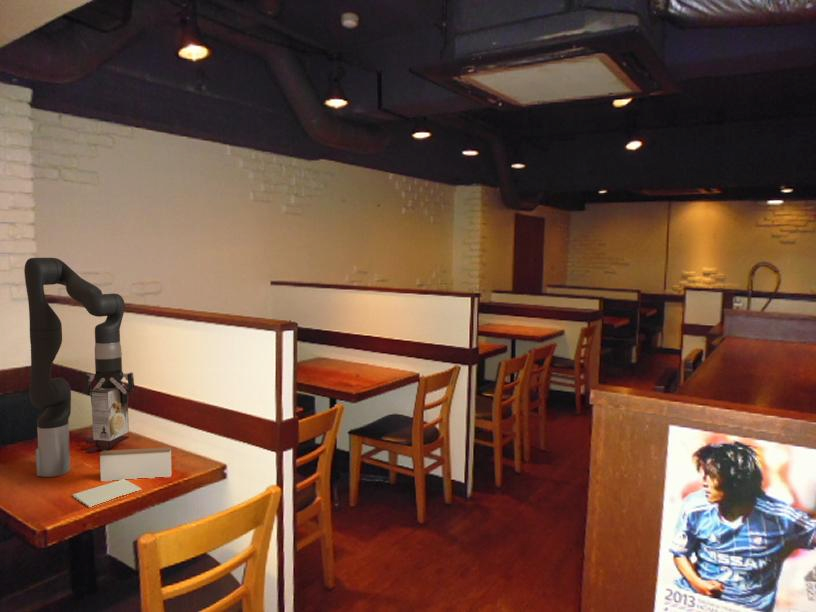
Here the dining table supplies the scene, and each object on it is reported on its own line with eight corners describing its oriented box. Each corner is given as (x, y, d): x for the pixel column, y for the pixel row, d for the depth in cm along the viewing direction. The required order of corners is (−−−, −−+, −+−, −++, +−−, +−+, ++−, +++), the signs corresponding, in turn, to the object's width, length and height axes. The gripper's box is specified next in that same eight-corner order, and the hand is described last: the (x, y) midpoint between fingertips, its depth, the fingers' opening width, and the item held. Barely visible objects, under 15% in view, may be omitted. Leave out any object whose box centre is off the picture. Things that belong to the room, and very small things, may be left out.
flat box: (100, 482, 186) (99, 453, 186) (103, 479, 189) (101, 450, 188) (170, 477, 191) (169, 449, 190) (171, 474, 194) (170, 446, 193)
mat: (89, 508, 168) (88, 505, 168) (72, 496, 175) (72, 494, 175) (141, 490, 180) (141, 488, 180) (124, 481, 188) (124, 478, 187)
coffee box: (112, 430, 184) (110, 383, 183) (129, 432, 183) (127, 384, 181) (92, 440, 175) (90, 390, 174) (110, 441, 174) (108, 391, 172)
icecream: (126, 427, 224) (84, 437, 216) (128, 428, 217) (84, 437, 209) (129, 444, 223) (87, 454, 215) (131, 445, 217) (87, 456, 209)
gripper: (79, 358, 171) (81, 409, 173) (129, 357, 175) (131, 407, 176) (87, 354, 178) (89, 403, 180) (135, 353, 182) (137, 401, 183)
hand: (110, 405), depth 178 cm, fingers closed on coffee box, 8 cm apart
